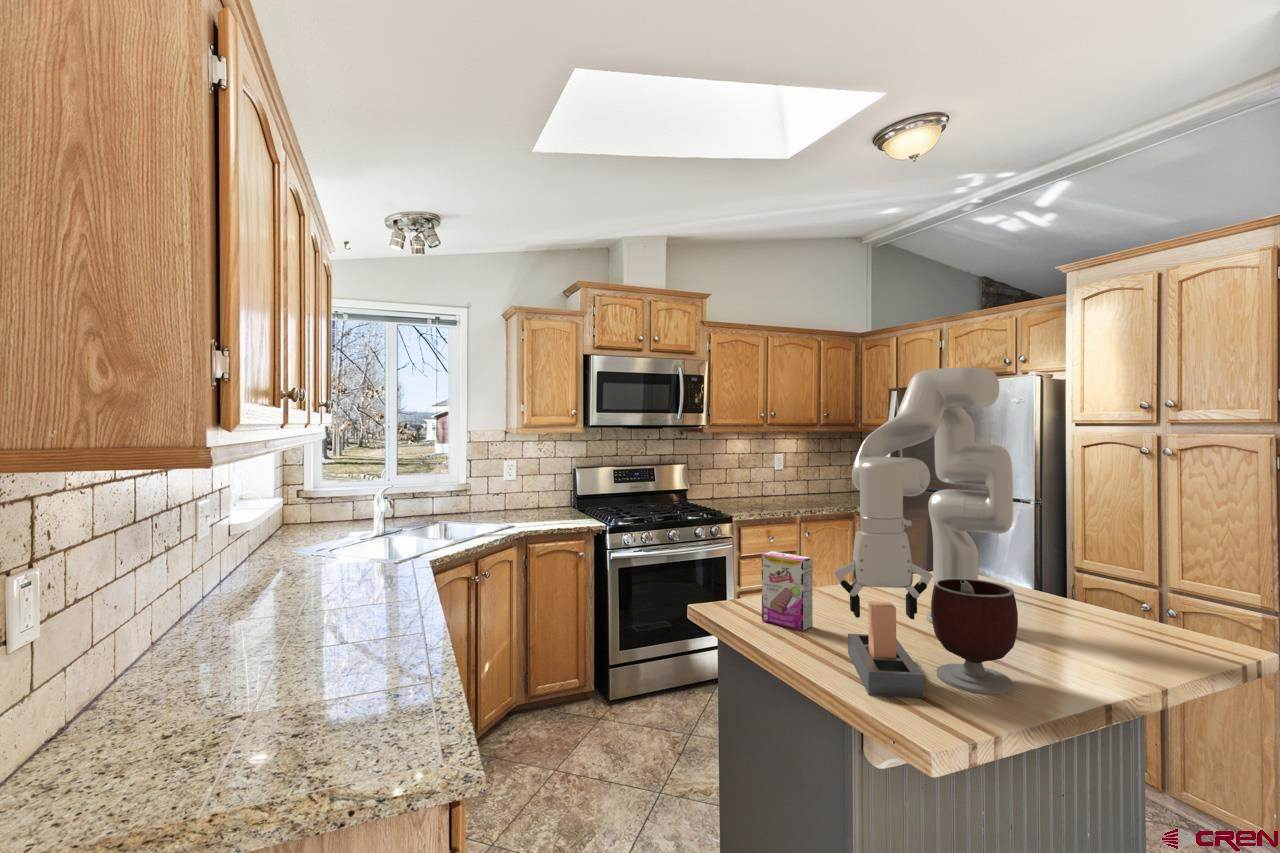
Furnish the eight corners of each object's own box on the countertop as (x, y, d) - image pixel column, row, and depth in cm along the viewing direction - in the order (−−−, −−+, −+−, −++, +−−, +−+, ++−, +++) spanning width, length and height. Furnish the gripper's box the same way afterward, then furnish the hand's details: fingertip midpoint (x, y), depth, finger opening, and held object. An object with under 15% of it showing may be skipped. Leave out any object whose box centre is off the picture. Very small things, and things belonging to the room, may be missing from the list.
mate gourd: (941, 659, 119) (940, 559, 119) (1023, 677, 110) (1022, 569, 111) (920, 685, 107) (919, 573, 108) (1010, 707, 98) (1009, 585, 99)
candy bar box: (760, 621, 143) (760, 553, 144) (771, 617, 147) (771, 550, 147) (803, 632, 136) (802, 560, 136) (813, 627, 140) (813, 556, 140)
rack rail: (894, 655, 121) (894, 635, 121) (924, 698, 102) (923, 675, 102) (848, 653, 123) (847, 633, 123) (868, 695, 103) (868, 671, 103)
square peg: (890, 670, 114) (890, 601, 114) (896, 678, 110) (896, 607, 110) (868, 669, 115) (868, 601, 115) (873, 677, 111) (873, 607, 111)
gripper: (924, 522, 115) (925, 611, 115) (831, 522, 118) (832, 608, 118) (937, 529, 108) (938, 624, 108) (837, 528, 110) (838, 621, 111)
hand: (883, 616), depth 113 cm, fingers open, 9 cm apart
